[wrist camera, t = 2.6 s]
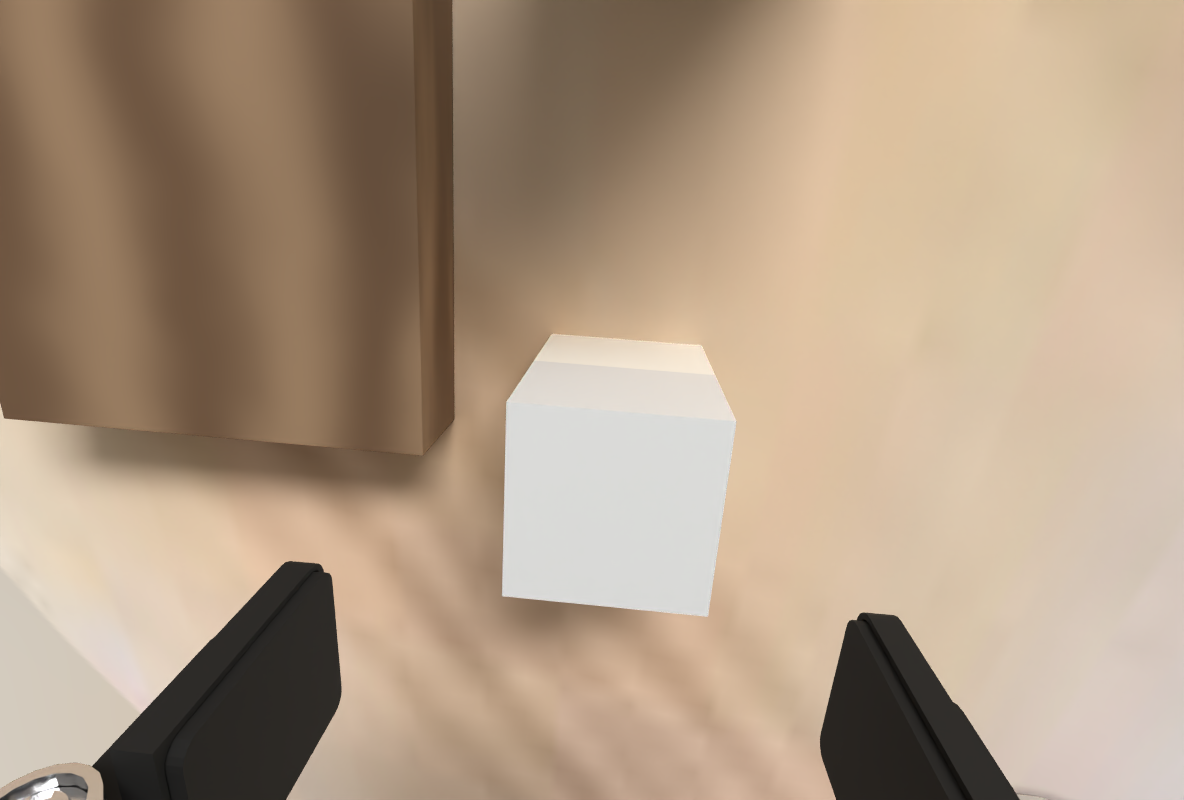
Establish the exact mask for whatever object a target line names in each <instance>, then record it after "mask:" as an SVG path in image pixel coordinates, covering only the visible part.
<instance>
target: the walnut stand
mask: <svg viewBox="0 0 1184 800" xmlns="http://www.w3.org/2000/svg"><path fill="white" fill-rule="evenodd" d="M0 403H1V407H2V411H3V415H4V418H6V419H17V420H28V421H39V422H51V423H62V424H73V425H84V426H96V427H107V428H118V429H129V430H141V431H152V432H163V433H174V434H186V435H197V436H208V437H219V438H231V439H242V440H253V441H264V442H276V443H287V444H298V445H309V446H321V447H332V448H343V449H354V450H366V451H377V452H388V453H399V454H411V455H422V456H423V455H424V454H425V453H426V451H427V450H428V449H429V448H430V447H431V446H432V444H433V443H434V442H435V441H436V440H437V439H438V437H439V436H440V435H441V434H442V433H443V432H444V430H445V429H446V428H447V427H448V426H449V425H450V423H451V422H452V421H453V420H454V267H453V82H452V0H0Z"/></svg>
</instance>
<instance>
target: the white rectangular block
mask: <svg viewBox="0 0 1184 800" xmlns="http://www.w3.org/2000/svg"><path fill="white" fill-rule="evenodd" d="M735 428H736V419H735V417H734V415H733V413H732V411H731V408H730V406H729V404H728V402H727V400H726V398H725V395H724V393H723V391H722V389H721V387H720V385H719V382H718V380H717V378H716V376H715V374H714V372H713V369H712V367H711V365H710V363H709V361H708V359H707V356H706V354H705V352H704V350H703V348H702V346H701V345H691V344H678V343H665V342H652V341H640V340H627V339H614V338H601V337H589V336H576V335H563V334H551V336H550V337H549V339H548V340H547V342H546V343H545V345H544V346H543V348H542V349H541V351H540V352H539V354H538V355H537V357H536V358H535V360H534V361H533V363H532V364H531V366H530V367H529V369H528V370H527V372H526V373H525V375H524V376H523V378H522V379H521V381H520V382H519V384H518V385H517V387H516V388H515V390H514V391H513V393H512V394H511V396H510V397H509V399H508V400H507V402H506V443H505V488H504V533H503V578H502V596H505V597H515V598H525V599H535V600H545V601H556V602H566V603H576V604H586V605H596V606H606V607H616V608H626V609H636V610H646V611H656V612H666V613H676V614H686V615H696V616H707V617H708V612H709V605H710V598H711V591H712V585H713V578H714V571H715V564H716V557H717V550H718V544H719V537H720V530H721V523H722V516H723V510H724V503H725V496H726V489H727V482H728V475H729V469H730V462H731V455H732V448H733V441H734V435H735Z"/></svg>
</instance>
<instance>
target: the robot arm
mask: <svg viewBox="0 0 1184 800" xmlns="http://www.w3.org/2000/svg"><path fill="white" fill-rule="evenodd" d="M340 698H341V676H340V664H339V653H338V642H337V630H336V619H335V607H334V596H333V585H332V577H331V575H330V574H329V573H324V571H323V568H322V566H321V565H320V564H315V563H304V562H293V561H289V562H285V563H284V564H283V565H282V566H281V567H280V568H279V569H278V570H277V571H276V572H275V573H274V574H273V575H272V576H271V578H270V579H269V580H268V581H267V582H266V583H265V584H264V585H263V586H262V587H261V588H260V589H259V590H258V591H257V592H256V594H255V595H254V596H253V597H252V598H251V599H250V600H249V601H248V602H247V603H246V604H245V605H244V606H243V607H242V608H241V610H240V611H239V612H238V613H237V614H236V615H235V616H234V617H233V618H232V619H231V620H230V621H229V622H228V623H227V625H226V626H225V627H224V628H223V629H222V630H221V631H220V632H219V633H218V634H217V635H216V636H215V637H214V638H213V639H212V640H210V641H209V642H208V643H207V644H206V646H205V647H204V648H203V649H202V650H201V651H200V652H199V653H198V654H197V655H196V656H195V657H194V658H193V659H192V660H191V662H190V663H189V664H188V665H187V666H186V667H185V668H184V669H183V670H182V671H181V672H180V673H179V674H178V675H177V676H176V677H175V679H174V680H173V681H172V682H171V683H170V684H169V685H168V686H167V687H166V688H165V689H164V690H163V691H162V692H161V693H160V695H159V696H158V697H157V698H156V699H155V700H154V701H153V702H152V703H151V704H150V705H149V706H148V707H147V708H146V709H145V710H144V712H143V713H142V714H141V715H140V716H139V717H138V718H137V719H136V720H135V721H134V722H133V723H132V724H131V725H130V726H129V728H128V729H127V730H126V731H125V732H124V733H123V734H122V735H121V736H120V737H119V738H118V739H117V740H116V741H115V742H114V743H113V745H112V746H111V747H110V748H109V749H108V750H107V751H106V752H105V753H104V754H103V755H102V756H101V757H100V758H99V759H98V761H97V762H96V763H95V764H94V765H93V766H90V765H85V764H80V763H67V764H57V765H53V766H49V767H46V768H43V769H39V770H36V771H33V772H31V773H29V774H27V775H25V776H23V777H20V778H18V779H16V780H14V781H12V782H10V783H9V784H7V785H6V786H4V787H2V788H1V789H0V800H286V799H287V797H288V795H289V793H290V792H291V790H292V788H293V786H294V784H295V783H296V781H297V779H298V777H299V776H300V774H301V772H302V770H303V769H304V767H305V765H306V763H307V762H308V760H309V758H310V756H311V754H312V753H313V751H314V749H315V747H316V746H317V744H318V742H319V740H320V739H321V737H322V735H323V733H324V732H325V730H326V728H327V726H328V725H329V723H330V721H331V719H332V717H333V716H334V714H335V712H336V710H337V708H338V705H339V702H340ZM820 749H821V755H822V759H823V762H824V765H825V768H826V771H827V774H828V777H829V780H830V783H831V786H832V788H833V791H834V794H835V797H836V800H1049V799H1045V798H1042V797H1038V796H1031V795H1022V794H1016V793H1015V791H1014V790H1013V788H1012V787H1011V785H1010V783H1009V782H1008V780H1007V779H1006V777H1005V776H1004V774H1003V773H1002V771H1001V770H1000V768H999V766H998V765H997V763H996V762H995V760H994V759H993V757H992V756H991V754H990V753H989V751H988V749H987V748H986V746H985V745H984V743H983V742H982V740H981V739H980V737H979V735H978V734H977V732H976V731H975V729H974V728H973V726H972V725H971V723H970V722H969V720H968V718H967V717H966V715H965V714H964V712H963V711H962V710H961V709H960V708H959V706H958V705H957V704H955V703H954V702H952V700H951V699H950V697H949V695H948V694H947V692H946V691H945V689H944V688H943V686H942V685H941V683H940V681H939V680H938V678H937V677H936V675H935V674H934V672H933V670H932V669H931V667H930V666H929V664H928V663H927V661H926V659H925V658H924V656H923V655H922V653H921V652H920V650H919V648H918V647H917V645H916V644H915V642H914V641H913V639H912V637H911V636H910V634H909V633H908V631H907V630H906V628H905V627H904V625H903V623H902V622H901V620H900V619H899V618H898V617H897V616H894V615H885V614H874V613H861V614H860V615H859V616H858V618H857V620H851V621H849V622H848V624H847V627H846V631H845V636H844V640H843V644H842V648H841V652H840V656H839V660H838V665H837V669H836V673H835V677H834V681H833V685H832V689H831V694H830V698H829V702H828V706H827V710H826V714H825V718H824V723H823V727H822V731H821V736H820Z"/></svg>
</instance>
